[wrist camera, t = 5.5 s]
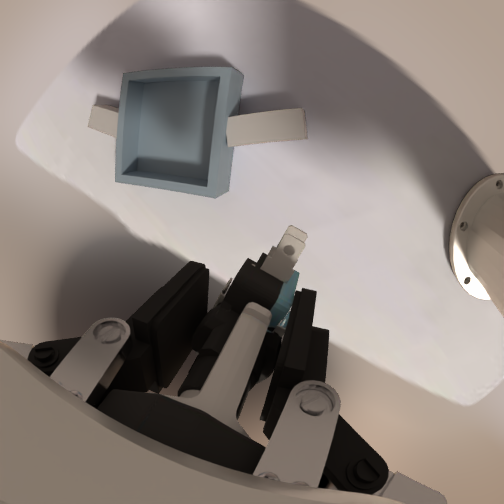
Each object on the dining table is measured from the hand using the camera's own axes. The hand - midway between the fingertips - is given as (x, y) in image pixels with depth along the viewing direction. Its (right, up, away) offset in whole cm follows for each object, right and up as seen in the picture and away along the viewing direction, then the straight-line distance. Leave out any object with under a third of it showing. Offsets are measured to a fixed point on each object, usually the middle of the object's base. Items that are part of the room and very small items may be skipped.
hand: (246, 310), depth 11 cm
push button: (+1, +1, +2) cm, 2 cm away
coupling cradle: (-6, +14, +13) cm, 20 cm away
